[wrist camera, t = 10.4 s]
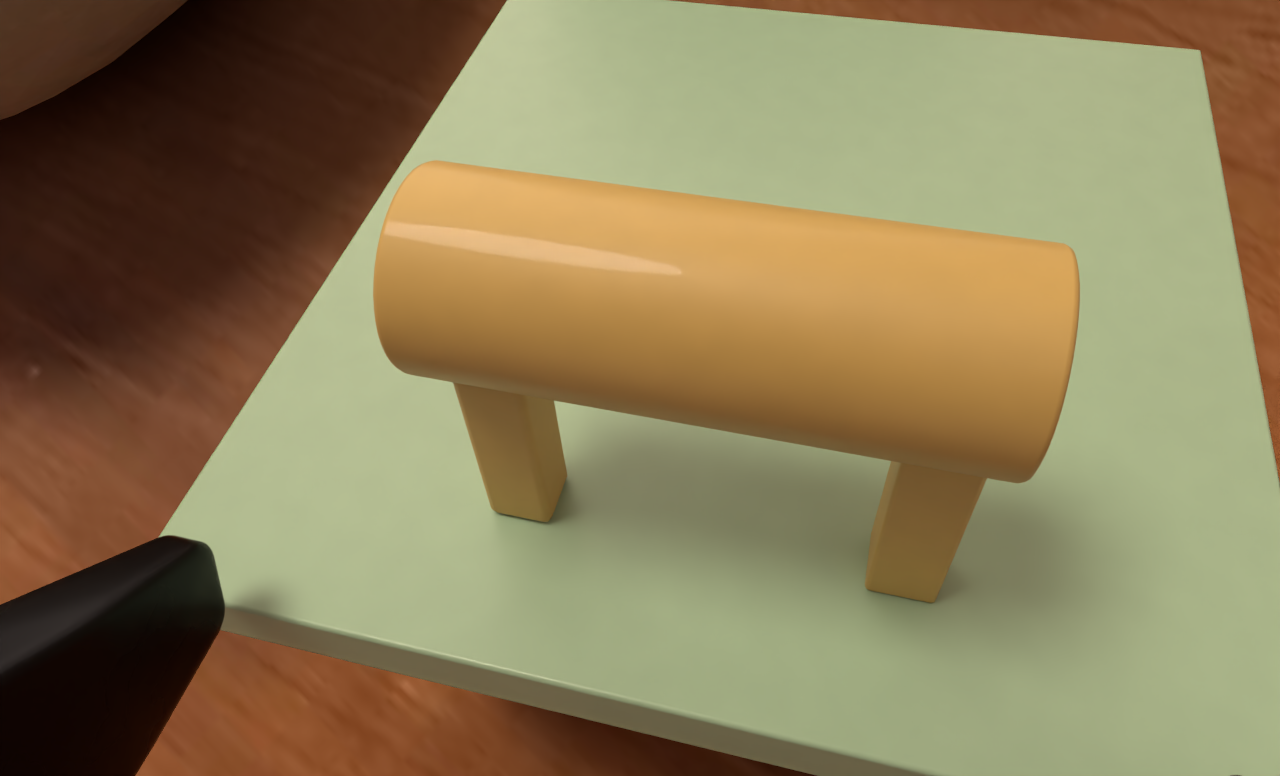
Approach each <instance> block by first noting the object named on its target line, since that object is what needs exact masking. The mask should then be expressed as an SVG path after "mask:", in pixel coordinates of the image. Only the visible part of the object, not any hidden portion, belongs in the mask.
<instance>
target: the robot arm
mask: <svg viewBox="0 0 1280 776" xmlns="http://www.w3.org/2000/svg"><path fill="white" fill-rule="evenodd" d="M224 615H225V601H224V597H223V593H222V588H221V584H220V580H219V575H218V571H217V567H216V562H215V558H214V554H213V551H212V550H211V548H210V547H209V546H208V545H207V544H206V543H204V542H202V541H197V540H193V539H188V538H184V537H179V536H175V535H166V536H162V537H159V538H156V539H154V540H152V541H149V542H147V543H144V544H142V545H140V546H137V547H135V548H133V549H130V550H128V551H126V552H123V553H121V554H119V555H116V556H114V557H112V558H109V559H107V560H105V561H102V562H100V563H97V564H95V565H93V566H90V567H88V568H86V569H83V570H81V571H79V572H76V573H74V574H72V575H69V576H67V577H65V578H62V579H60V580H58V581H55V582H53V583H51V584H48V585H46V586H43V587H41V588H39V589H36V590H34V591H32V592H29V593H27V594H25V595H22V596H20V597H18V598H15V599H13V600H11V601H8V602H6V603H3V604H1V605H0V776H135V775H136V773H137V772H138V770H139V769H140V767H141V765H142V764H143V762H144V761H145V759H146V757H147V756H148V754H149V752H150V751H151V749H152V748H153V746H154V744H155V742H156V741H157V739H158V737H159V735H160V734H161V732H162V730H163V729H164V727H165V725H166V723H167V722H168V720H169V718H170V716H171V715H172V713H173V711H174V709H175V708H176V706H177V704H178V702H179V701H180V699H181V697H182V696H183V694H184V692H185V690H186V689H187V687H188V685H189V683H190V682H191V680H192V678H193V676H194V675H195V673H196V671H197V669H198V668H199V666H200V664H201V662H202V661H203V659H204V657H205V656H206V654H207V652H208V650H209V649H210V647H211V645H212V643H213V642H214V640H215V638H216V636H217V635H218V633H219V631H220V629H221V626H222V623H223V620H224ZM1230 776H1241V775H1230Z"/></svg>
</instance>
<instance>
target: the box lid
mask: <svg viewBox="0 0 1280 776" xmlns="http://www.w3.org/2000/svg"><path fill="white" fill-rule="evenodd" d="M166 535H175V536H179V537H184V538H188V539H193V540H197V541H202V542H204V543H206V544H207V545H208V546H209V547H210V548H211V550H212V551H213V554H214V558H215V562H216V567H217V571H218V575H219V580H220V584H221V588H222V593H223V597H224V601H225V615H224V620H223V623H222V626H221V629H220V630H223V631H227V632H231V633H235V634H239V635H243V636H247V637H252V638H256V639H260V640H264V641H268V642H272V643H276V644H280V645H284V646H288V647H292V648H297V649H301V650H305V651H309V652H313V653H317V654H321V655H325V656H329V657H333V658H337V659H342V660H346V661H350V662H354V663H358V664H362V665H366V666H370V667H374V668H378V669H383V670H387V671H391V672H395V673H399V674H403V675H407V676H411V677H415V678H419V679H423V680H428V681H432V682H436V683H440V684H444V685H448V686H452V687H456V688H460V689H464V690H469V691H473V692H477V693H481V694H485V695H489V696H493V697H497V698H501V699H505V700H509V701H514V702H518V703H522V704H526V705H530V706H534V707H538V708H542V709H546V710H550V711H555V712H559V713H563V714H567V715H571V716H575V717H579V718H583V719H587V720H591V721H595V722H600V723H604V724H608V725H612V726H616V727H620V728H624V729H628V730H632V731H636V732H640V733H645V734H649V735H653V736H657V737H661V738H665V739H669V740H673V741H677V742H681V743H686V744H690V745H694V746H698V747H702V748H706V749H710V750H714V751H718V752H722V753H726V754H731V755H735V756H739V757H743V758H747V759H751V760H755V761H759V762H763V763H767V764H772V765H776V766H780V767H784V768H788V769H792V770H796V771H800V772H804V773H808V774H812V775H817V776H1230V775H1241V776H1280V483H1279V477H1278V472H1277V466H1276V461H1275V455H1274V450H1273V444H1272V439H1271V433H1270V428H1269V423H1268V417H1267V412H1266V406H1265V401H1264V395H1263V390H1262V384H1261V379H1260V373H1259V368H1258V362H1257V357H1256V352H1255V346H1254V341H1253V335H1252V330H1251V324H1250V319H1249V313H1248V308H1247V302H1246V297H1245V291H1244V286H1243V281H1242V275H1241V270H1240V264H1239V259H1238V253H1237V248H1236V242H1235V237H1234V231H1233V226H1232V220H1231V215H1230V210H1229V204H1228V199H1227V193H1226V188H1225V182H1224V177H1223V171H1222V166H1221V160H1220V155H1219V149H1218V144H1217V139H1216V133H1215V128H1214V122H1213V117H1212V111H1211V106H1210V100H1209V95H1208V89H1207V84H1206V79H1205V73H1204V68H1203V62H1202V57H1201V51H1199V50H1193V49H1182V48H1172V47H1161V46H1150V45H1140V44H1129V43H1118V42H1108V41H1097V40H1086V39H1076V38H1065V37H1054V36H1044V35H1033V34H1022V33H1011V32H1001V31H990V30H979V29H969V28H958V27H947V26H937V25H926V24H915V23H905V22H894V21H883V20H872V19H862V18H851V17H840V16H830V15H819V14H808V13H798V12H787V11H776V10H766V9H755V8H744V7H734V6H723V5H712V4H701V3H691V2H680V1H669V0H507V1H506V3H505V4H504V6H503V7H502V9H501V10H500V12H499V13H498V15H497V17H496V18H495V20H494V21H493V23H492V24H491V26H490V27H489V29H488V30H487V32H486V33H485V35H484V37H483V38H482V40H481V41H480V43H479V44H478V46H477V47H476V49H475V50H474V52H473V54H472V55H471V57H470V58H469V60H468V61H467V63H466V64H465V66H464V67H463V69H462V70H461V72H460V74H459V75H458V77H457V78H456V80H455V81H454V83H453V84H452V86H451V87H450V89H449V91H448V92H447V94H446V95H445V97H444V98H443V100H442V101H441V103H440V104H439V106H438V107H437V109H436V111H435V112H434V114H433V115H432V117H431V118H430V120H429V121H428V123H427V124H426V126H425V127H424V129H423V131H422V132H421V134H420V135H419V137H418V138H417V140H416V141H415V143H414V144H413V146H412V148H411V149H410V151H409V152H408V154H407V155H406V157H405V158H404V160H403V161H402V163H401V164H400V166H399V168H398V169H397V171H396V172H395V174H394V175H393V177H392V178H391V180H390V181H389V183H388V184H387V186H386V188H385V189H384V191H383V192H382V194H381V195H380V197H379V198H378V200H377V201H376V203H375V205H374V206H373V208H372V209H371V211H370V212H369V214H368V215H367V217H366V218H365V220H364V221H363V223H362V225H361V226H360V228H359V229H358V231H357V232H356V234H355V235H354V237H353V238H352V240H351V242H350V243H349V245H348V246H347V248H346V249H345V251H344V252H343V254H342V255H341V257H340V258H339V260H338V262H337V263H336V265H335V266H334V268H333V269H332V271H331V272H330V274H329V275H328V277H327V278H326V280H325V282H324V283H323V285H322V286H321V288H320V289H319V291H318V292H317V294H316V295H315V297H314V299H313V300H312V302H311V303H310V305H309V306H308V308H307V309H306V311H305V312H304V314H303V315H302V317H301V319H300V320H299V322H298V323H297V325H296V326H295V328H294V329H293V331H292V332H291V334H290V335H289V337H288V339H287V340H286V342H285V343H284V345H283V346H282V348H281V349H280V351H279V352H278V354H277V356H276V357H275V359H274V360H273V362H272V363H271V365H270V366H269V368H268V369H267V371H266V372H265V374H264V376H263V377H262V379H261V380H260V382H259V383H258V385H257V386H256V388H255V389H254V391H253V392H252V394H251V396H250V397H249V399H248V400H247V402H246V403H245V405H244V406H243V408H242V409H241V411H240V413H239V414H238V416H237V417H236V419H235V420H234V422H233V423H232V425H231V426H230V428H229V429H228V431H227V433H226V434H225V436H224V437H223V439H222V440H221V442H220V443H219V445H218V446H217V448H216V450H215V451H214V453H213V454H212V456H211V457H210V459H209V460H208V462H207V463H206V465H205V466H204V468H203V470H202V471H201V473H200V474H199V476H198V477H197V479H196V480H195V482H194V483H193V485H192V486H191V488H190V490H189V491H188V493H187V494H186V496H185V497H184V499H183V500H182V502H181V503H180V505H179V507H178V508H177V510H176V511H175V513H174V514H173V516H172V517H171V519H170V520H169V522H168V523H167V525H166V527H165V528H164V530H163V531H162V533H161V534H160V536H159V537H162V536H166ZM159 537H158V538H159Z"/></svg>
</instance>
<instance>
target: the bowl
mask: <svg viewBox="0 0 1280 776" xmlns="http://www.w3.org/2000/svg"><path fill="white" fill-rule="evenodd" d="M186 1H187V0H0V120H1V119H5V118H8V117H11V116H14V115H16V114H18V113H20V112H22V111H24V110H27V109H29V108H31V107H33V106H35V105H37V104H39V103H41V102H43V101H45V100H48V99H50V98H52V97H54V96H56V95H58V94H59V93H61V92H63V91H64V90H66V89H68V88H69V87H71V86H73V85H75V84H76V83H78V82H80V81H81V80H83V79H85V78H86V77H88V76H90V75H91V74H93V73H95V72H96V71H98V70H100V69H101V68H103V67H105V66H107V65H108V64H110V63H112V62H113V61H114V60H116V59H117V58H118V57H119V56H121V55H122V54H123V53H124V52H126V51H127V50H128V49H129V48H130V47H132V46H133V45H134V44H135V43H137V42H138V41H139V40H140V39H142V38H143V37H144V36H145V35H147V34H148V33H149V32H150V31H151V30H153V29H154V28H155V27H156V26H158V25H159V24H160V23H161V22H163V21H164V20H165V19H166V18H167V17H169V16H170V15H171V14H172V13H174V12H175V11H176V10H177V9H178V8H179V7H180V6H182V5H183V4H184V3H185V2H186Z"/></svg>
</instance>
